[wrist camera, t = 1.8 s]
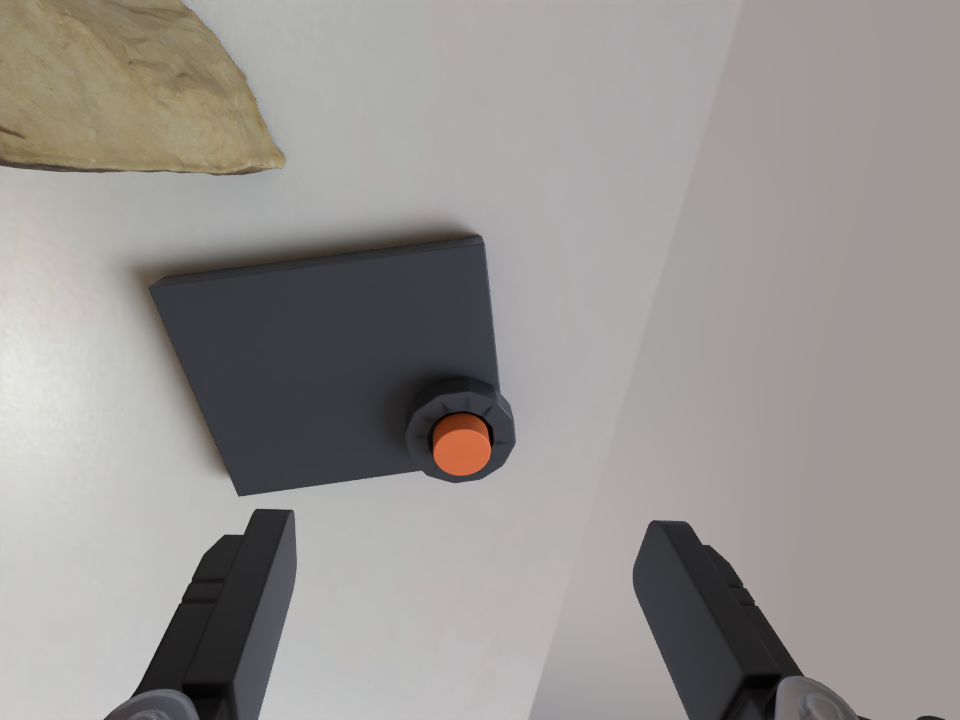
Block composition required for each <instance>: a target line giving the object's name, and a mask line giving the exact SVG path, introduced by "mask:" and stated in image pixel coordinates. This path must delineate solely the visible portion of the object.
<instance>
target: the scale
mask: <svg viewBox="0 0 960 720" xmlns="http://www.w3.org/2000/svg"><path fill="white" fill-rule="evenodd" d="M149 291H150V293H151V295H152V298H153V300H154V302H155V305H156V307H157V309H158V312H159V314H160V316H161V318H162V321H163V323H164V325H165V328H166V330H167V332H168V335H169V337H170V339H171V342H172V344H173V346H174V349H175V351H176V353H177V355H178V358H179V360H180V362H181V365H182V367H183V369H184V372H185V374H186V376H187V379H188V381H189V383H190V386H191V388H192V390H193V392H194V395H195V397H196V399H197V402H198V404H199V406H200V409H201V411H202V413H203V416H204V418H205V420H206V422H207V425H208V427H209V429H210V432H211V434H212V436H213V439H214V441H215V443H216V446H217V448H218V450H219V453H220V455H221V457H222V459H223V462H224V464H225V466H226V469H227V471H228V473H229V476H230V478H231V480H232V483H233V485H234V487H235V490H236V492H237V494H238V496H239V497H240V496H247V495H254V494H261V493H268V492H275V491H282V490H289V489H296V488H303V487H310V486H317V485H324V484H331V483H338V482H345V481H352V480H359V479H366V478H373V477H380V476H387V475H394V474H401V473H408V472H415V471H423V472H424V473H425V474H426V475H427V476H430V477H434V478H437V479H441V480H444V481H448V482H451V483H460V482H467V481H474V480H480V479H483V478H484V477H486V476H487V475H489V474H491V473H492V472H494V471H495V470H497V469H498V468H500V467H502V466H503V464H504V463H505V462H506V460H507V458H508V456H509V454H510V453H511V451H512V449H513V447H514V445H515V443H516V438H515V427H514V419H513V415H512V411H511V407H510V405H509V403H508V402H507V401H506V400H505V398H504V397H503V396H502V395H501V393H500V383H499V374H498V365H497V355H496V346H495V336H494V327H493V317H492V308H491V299H490V289H489V280H488V270H487V261H486V251H485V244H484V241H483V238H482V236H476V237H469V238H461V239H453V240H446V241H438V242H430V243H423V244H415V245H407V246H400V247H392V248H385V249H377V250H369V251H362V252H354V253H346V254H339V255H331V256H323V257H316V258H308V259H301V260H293V261H285V262H278V263H270V264H262V265H255V266H247V267H239V268H232V269H224V270H216V271H209V272H201V273H194V274H186V275H178V276H171V277H164V278H162V279H161V280H159V281H158V282H156V283H155V284H153V285H152V286H150V287H149ZM457 413H467V414H471V415H474V416H476V417H478V418H479V419H480V420H481V421H483V423H484V424H485V425H486V427H487V430H488V436H489V441H490V447H491V454H490V458H489V460H488V462H487V463H486V465H485V466H484V467H483V468H482V469H480V470H479V471H477V472H475V473H473V474H469V475H463V476H459V475H452V474H449V473H447V472H445V471H443V470H442V469H441V468H440V467H439V466H438V465H437V464H436V462H435V460H434V457H433V433H434V430H435V428H436V426H437V425H438V423H439V422H440V421H441V420H443V419H444V418H445V417H447V416H449V415H452V414H457Z"/></svg>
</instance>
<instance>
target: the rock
mask: <svg viewBox="0 0 960 720" xmlns="http://www.w3.org/2000/svg"><path fill="white" fill-rule="evenodd" d="M246 81H247V77H246V75H245V74H244V73H243V72H242V71H241V70H240V69H239V67H238V66H237V65H236V64H235V62H234V61H233V60H232V59H231V58H230V56H229V55H228V54H227V52H226V51H225V49H224V47H223V46H222V45H221V43H220V41H219V39H218V38H217V37H216V36H215V34H214V33H213V32H212V31H211V30H209V29H208V28H207V27H206V26H205V25H204V24H203V23H202V21H201V20H200V18H199V17H198V16H197V15H196V14H195V13H194V12H193V11H192V10H190V9H188V8H186V7H185V6H184V4H183V3H182V2H181V0H0V166H6V167H13V168H22V169H32V170H45V171H56V172H97V173H104V172H123V171H137V172H161V171H167V172H177V173H208V174H211V175H218V176H219V175H245V174H250V173H256V172H260V171H263V170H267V169H273V168H282V167H283V166H284V163H285V161H286V158H285V156H284V154H283V153H282V152H281V151H280V150H279V149H278V148H277V147H276V145H275V144H274V143H273V141H272V139H271V136H270V134H269V131H268V129H267V127H266V124H265V122H264V120H263V118H262V117H261V115H260V113H259V110H258V105H257V102H256V99H255V97H254V96H253V94H252V92H251V90H250V88H249V86H248V85H247V83H246Z"/></svg>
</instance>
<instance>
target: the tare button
mask: <svg viewBox="0 0 960 720" xmlns="http://www.w3.org/2000/svg"><path fill="white" fill-rule="evenodd" d="M490 454H491V447H490V441H489V436H488V430H487V427H486V425H485V424H484V423H483V421H481V420H480V419H479V418H478V417H476V416H474V415H471V414H467V413H457V414H452V415H449V416H447V417H445V418H444V419H443V420H441V421H440V422H439V423H438V425H437V426H436V428H435V430H434V433H433V457H434V460H435V462H436V464H437V465H438V466H439V467H440V468H441V469H442V470H443V471H445V472H447V473H449V474H452V475H459V476H463V475H469V474H473V473H475V472H477V471H479V470H480V469H482V468H483V467H484V466H485V465H486V463H487V462H488V460H489V458H490Z"/></svg>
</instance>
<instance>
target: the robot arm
mask: <svg viewBox="0 0 960 720" xmlns="http://www.w3.org/2000/svg"><path fill="white" fill-rule="evenodd" d="M296 567H297V556H296V535H295V516H294V511H293V510H278V509H256V510H255V511H254V512H253V514H252V516H251V518H250V521H249V523H248V526H247V528H246V530H245V533H244V535H224V536H223V537H222V538H221V539H219V540H218V541H217V542H216V543H215V544H214V545H213V546H212V547H211V548H210V549H209V550H208V551H207V552H206V553H205V554H204V555H203V557H202V559H201V561H200V563H199V565H198V567H197V569H196V571H195V573H194V575H193V577H192V582H191V583H189V585H188V587H187V589H186V591H185V593H184V596H183V598H182V602H181V604H179V606H178V608H177V610H176V612H175V614H174V616H173V618H172V620H171V622H170V624H169V626H168V628H167V630H166V632H165V634H164V636H163V638H162V640H161V642H160V644H159V646H158V648H157V650H156V652H155V654H154V656H153V658H152V660H151V662H150V664H149V666H148V668H147V670H146V672H145V675H144V677H143V679H142V681H141V682H140V684H139V686H138V688H137V689H136V691H135V692H134V694H133V695H132V696H131V698H130V699H129V700H127V701H126V702H124V703H123V704H121V705H120V706H118V707H117V708H116V709H114V710H113V711H112V712H111V713H110V714H109V715H108V716H107V717H106V718H105V719H104V720H258V717H259V714H260V710H261V706H262V703H263V699H264V695H265V692H266V688H267V684H268V681H269V677H270V673H271V670H272V666H273V662H274V659H275V655H276V651H277V648H278V644H279V640H280V637H281V633H282V629H283V626H284V622H285V618H286V615H287V611H288V608H289V604H290V600H291V597H292V593H293V589H294V583H295V577H296ZM633 585H634V590H635V593H636V596H637V598H638V601H639V603H640V606H641V608H642V610H643V613H644V615H645V617H646V620H647V622H648V624H649V626H650V629H651V631H652V634H653V636H654V638H655V640H656V643H657V645H658V648H659V650H660V652H661V655H662V657H663V659H664V661H665V664H666V666H667V668H668V671H669V673H670V675H671V678H672V680H673V683H674V685H675V687H676V690H677V692H678V694H679V697H680V699H681V701H682V704H683V706H684V708H685V711H686V713H687V715H688V718H689V720H870V719H867V718H864V717H860V716H858V715H856V714H855V712H854V711H853V710H852V709H851V708H850V706H849V705H848V704H847V703H846V702H845V701H844V700H843V699H842V698H841V697H840V696H838V695H837V694H836V693H835V692H834V691H832V690H831V689H830V688H828V687H826V686H825V685H823V684H821V683H820V682H817V681H815V680H813V679H810V678H807V677H805V676H804V675H803V673H802V672H801V671H800V669H799V668H798V666H797V665H796V663H795V662H794V660H793V659H792V657H791V656H790V654H789V653H788V651H787V649H786V648H785V646H784V645H783V644H782V642H781V640H780V639H779V637H778V636H777V634H776V633H775V631H774V630H773V628H772V627H771V625H770V624H769V622H768V621H767V619H766V618H765V616H764V615H763V613H762V612H761V610H760V609H759V607H758V606H755V603H754V602H755V601H754V600H753V598H752V597H751V595H750V594H749V592H748V591H747V589H746V588H744V587H743V583H742V581H741V580H740V579H739V577H738V575H737V574H736V572H735V571H734V569H733V568H732V566H731V565H730V563H729V562H727V561H726V560H725V559H724V558H723V557H722V556H721V555H720V554H719V553H718V552H716V551H715V550H714V549H713V548H712V547H711V546H710V545H702V543H701V542H700V540H699V538H698V537H697V536H696V534H695V532H694V531H693V529H692V527H691V526H690V525H689V524H688V523H687V522H684V521H658V520H657V521H656V520H654V521H652V522H651V523H650V524H649V526H648V528H647V531H646V534H645V536H644V539H643V542H642V545H641V548H640V550H639V553H638V556H637V559H636V561H635V564H634V568H633ZM917 720H945V719H941V718H938V717H934V716H922V717H920V718H918V719H917Z"/></svg>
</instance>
